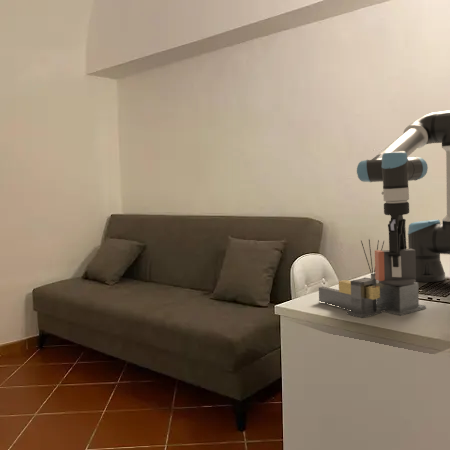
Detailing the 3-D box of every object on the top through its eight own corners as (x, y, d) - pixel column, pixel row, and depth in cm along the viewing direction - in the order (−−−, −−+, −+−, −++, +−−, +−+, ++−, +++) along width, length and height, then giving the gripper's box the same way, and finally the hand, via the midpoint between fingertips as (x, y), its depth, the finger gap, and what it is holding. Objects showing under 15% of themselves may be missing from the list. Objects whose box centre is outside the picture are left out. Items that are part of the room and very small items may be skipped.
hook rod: (345, 290, 163) (345, 279, 163) (379, 297, 152) (379, 286, 151) (339, 291, 162) (338, 281, 161) (373, 299, 150) (372, 288, 150)
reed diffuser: (359, 295, 178) (357, 239, 176) (366, 291, 183) (365, 237, 182) (387, 298, 172) (386, 240, 170) (394, 294, 177) (393, 238, 176)
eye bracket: (330, 299, 174) (329, 270, 173) (381, 312, 155) (380, 279, 154) (311, 304, 169) (310, 273, 168) (361, 318, 151) (360, 283, 150)
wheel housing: (394, 301, 168) (393, 277, 167) (425, 308, 158) (425, 282, 157) (369, 307, 161) (369, 282, 160) (400, 315, 151) (400, 288, 150)
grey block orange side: (406, 277, 164) (406, 246, 163) (421, 284, 153) (421, 251, 152) (371, 279, 164) (370, 248, 163) (383, 287, 153) (382, 253, 152)
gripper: (390, 199, 166) (393, 268, 168) (376, 204, 150) (379, 280, 153) (414, 198, 162) (417, 269, 164) (402, 204, 146) (405, 281, 149)
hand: (399, 274), depth 158 cm, fingers closed on grey block orange side, 6 cm apart
